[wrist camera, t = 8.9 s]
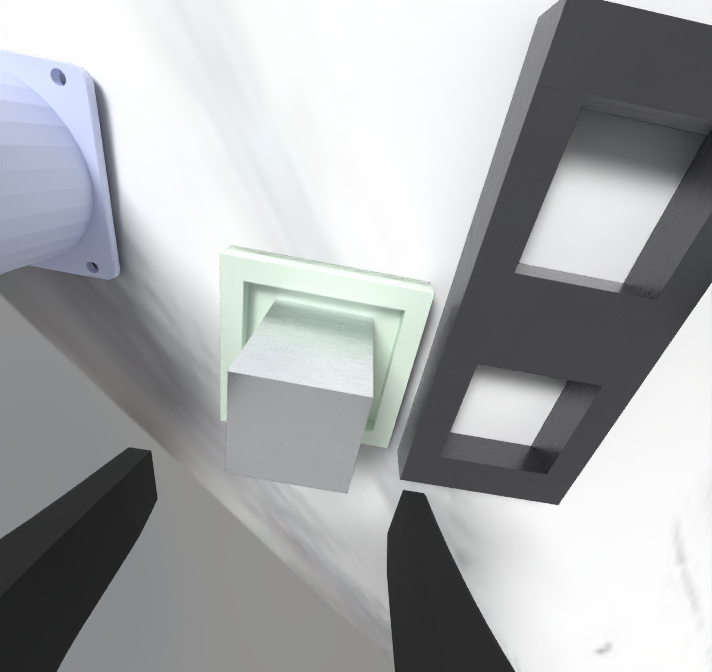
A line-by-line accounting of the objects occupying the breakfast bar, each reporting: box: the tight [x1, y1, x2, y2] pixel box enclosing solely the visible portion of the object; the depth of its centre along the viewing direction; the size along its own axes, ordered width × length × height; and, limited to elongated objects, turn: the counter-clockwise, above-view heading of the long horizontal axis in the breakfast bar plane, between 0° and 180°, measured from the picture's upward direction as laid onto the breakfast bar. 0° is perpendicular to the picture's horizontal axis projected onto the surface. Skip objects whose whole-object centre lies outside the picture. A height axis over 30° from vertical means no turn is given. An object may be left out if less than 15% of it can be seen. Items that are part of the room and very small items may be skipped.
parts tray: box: [220, 245, 435, 448], centre depth 17 cm, size 9×9×1 cm
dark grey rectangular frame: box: [398, 0, 712, 505], centre depth 15 cm, size 9×20×2 cm, turn 170°
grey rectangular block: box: [225, 299, 373, 494], centre depth 14 cm, size 4×4×6 cm
